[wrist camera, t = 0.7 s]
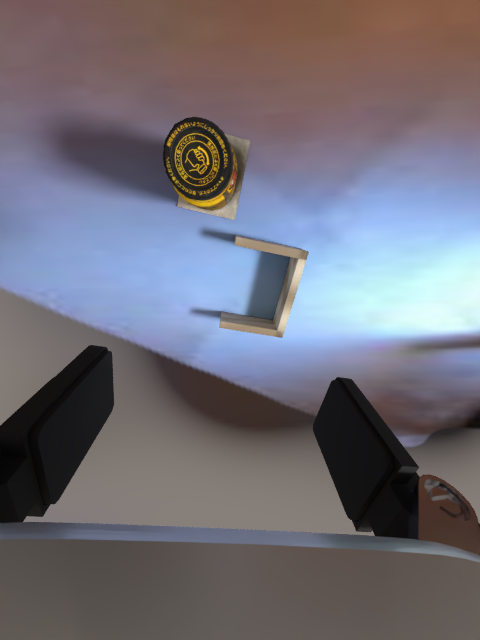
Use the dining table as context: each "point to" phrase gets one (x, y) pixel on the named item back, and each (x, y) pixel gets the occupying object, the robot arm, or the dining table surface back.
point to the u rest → (286, 295)
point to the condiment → (205, 166)
